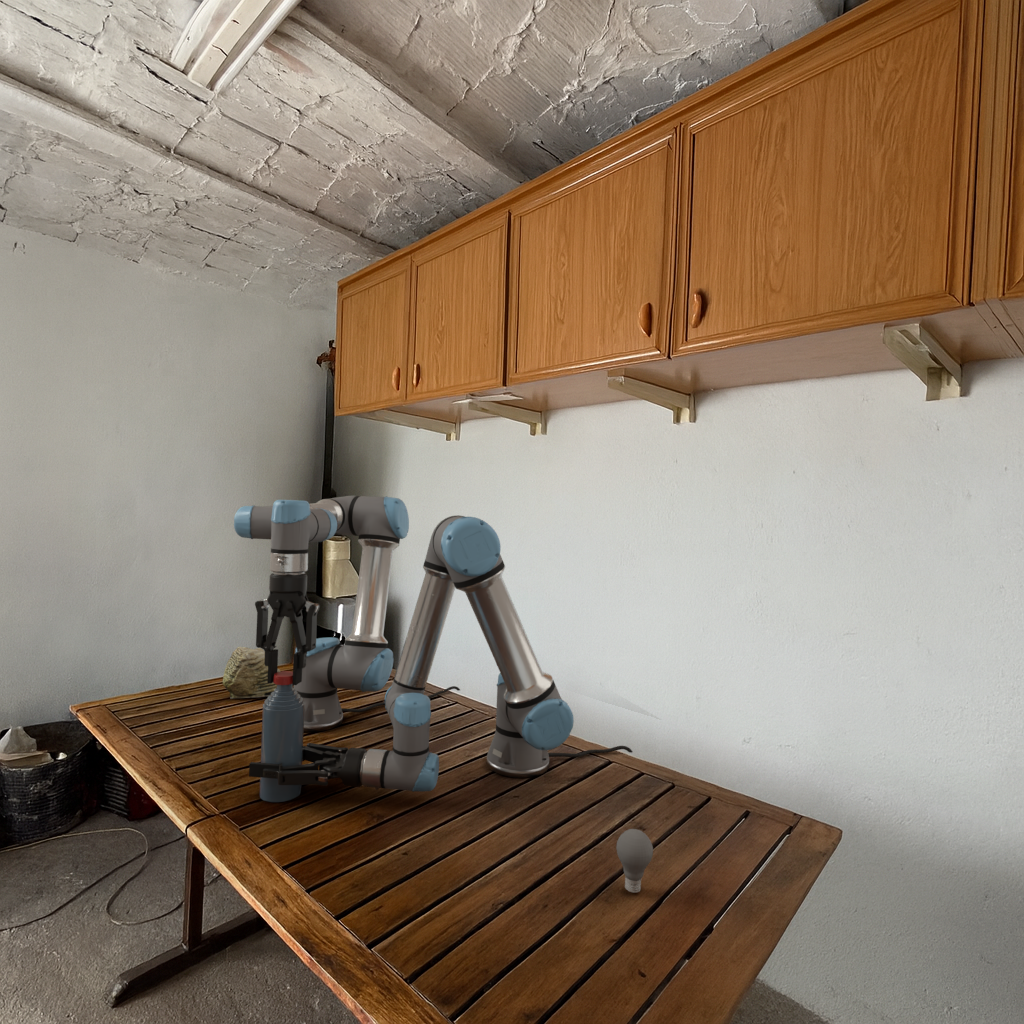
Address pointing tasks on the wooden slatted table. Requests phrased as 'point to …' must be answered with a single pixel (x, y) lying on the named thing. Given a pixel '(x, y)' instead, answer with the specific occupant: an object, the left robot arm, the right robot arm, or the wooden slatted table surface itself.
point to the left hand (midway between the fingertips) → (284, 681)
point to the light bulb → (634, 857)
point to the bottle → (282, 739)
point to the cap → (283, 678)
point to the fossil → (247, 674)
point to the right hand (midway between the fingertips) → (260, 760)
